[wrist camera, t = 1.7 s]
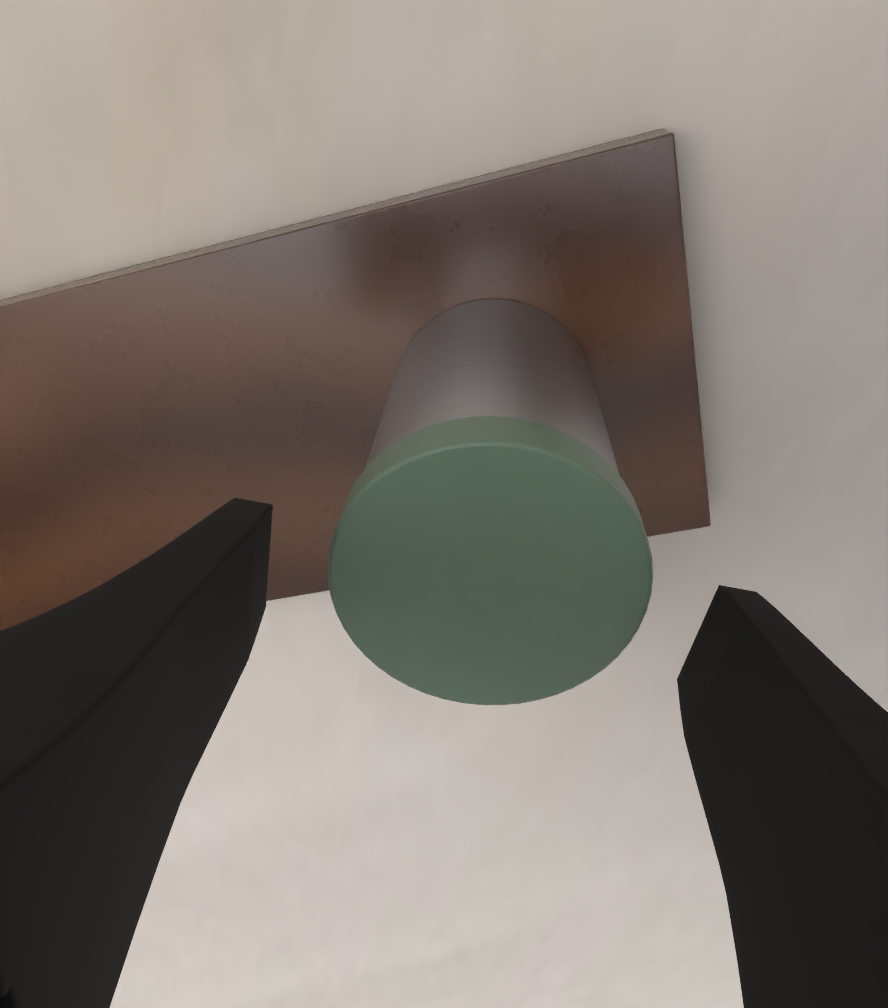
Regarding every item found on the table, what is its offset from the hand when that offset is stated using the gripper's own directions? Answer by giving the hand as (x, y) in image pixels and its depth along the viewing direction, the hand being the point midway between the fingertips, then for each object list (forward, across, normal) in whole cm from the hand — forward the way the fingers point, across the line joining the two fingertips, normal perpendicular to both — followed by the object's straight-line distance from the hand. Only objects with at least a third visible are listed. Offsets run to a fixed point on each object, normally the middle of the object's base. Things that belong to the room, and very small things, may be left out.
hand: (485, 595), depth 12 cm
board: (+10, +6, +3) cm, 12 cm away
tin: (+8, 0, 0) cm, 8 cm away
